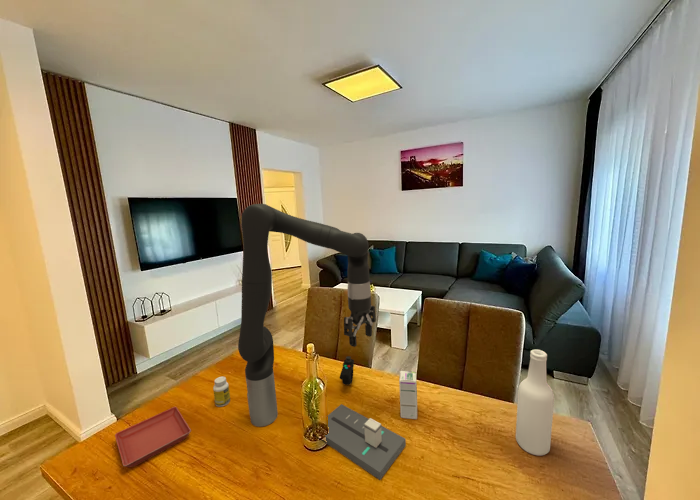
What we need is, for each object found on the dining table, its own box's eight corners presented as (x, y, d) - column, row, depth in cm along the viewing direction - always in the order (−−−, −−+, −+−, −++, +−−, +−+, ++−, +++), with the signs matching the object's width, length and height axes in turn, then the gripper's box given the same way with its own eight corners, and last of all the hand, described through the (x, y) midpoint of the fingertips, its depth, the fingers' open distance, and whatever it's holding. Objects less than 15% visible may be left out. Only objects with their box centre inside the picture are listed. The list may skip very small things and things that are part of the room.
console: (313, 434, 96) (313, 427, 96) (341, 410, 107) (341, 403, 106) (380, 480, 80) (379, 471, 79) (405, 445, 90) (405, 438, 90)
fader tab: (364, 441, 89) (364, 423, 88) (370, 434, 91) (370, 417, 90) (376, 448, 86) (375, 430, 85) (381, 441, 89) (381, 423, 88)
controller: (355, 375, 127) (354, 354, 125) (350, 394, 115) (348, 370, 113) (345, 374, 128) (344, 353, 126) (339, 393, 116) (338, 370, 114)
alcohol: (545, 436, 91) (552, 346, 86) (554, 460, 83) (562, 362, 78) (512, 430, 94) (517, 343, 89) (518, 453, 86) (524, 358, 81)
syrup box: (417, 419, 100) (417, 381, 98) (399, 418, 102) (399, 379, 99) (417, 408, 106) (416, 371, 103) (400, 406, 107) (399, 370, 105)
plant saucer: (177, 413, 110) (175, 405, 109) (193, 439, 97) (191, 430, 97) (116, 442, 97) (114, 433, 97) (125, 476, 85) (123, 467, 84)
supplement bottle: (226, 407, 111) (223, 383, 109) (212, 407, 111) (209, 384, 110) (232, 397, 117) (229, 375, 115) (219, 398, 117) (216, 375, 115)
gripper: (363, 287, 104) (364, 330, 107) (336, 298, 93) (338, 346, 96) (381, 290, 99) (382, 335, 102) (354, 303, 88) (356, 353, 91)
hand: (361, 340), depth 99 cm, fingers open, 8 cm apart
